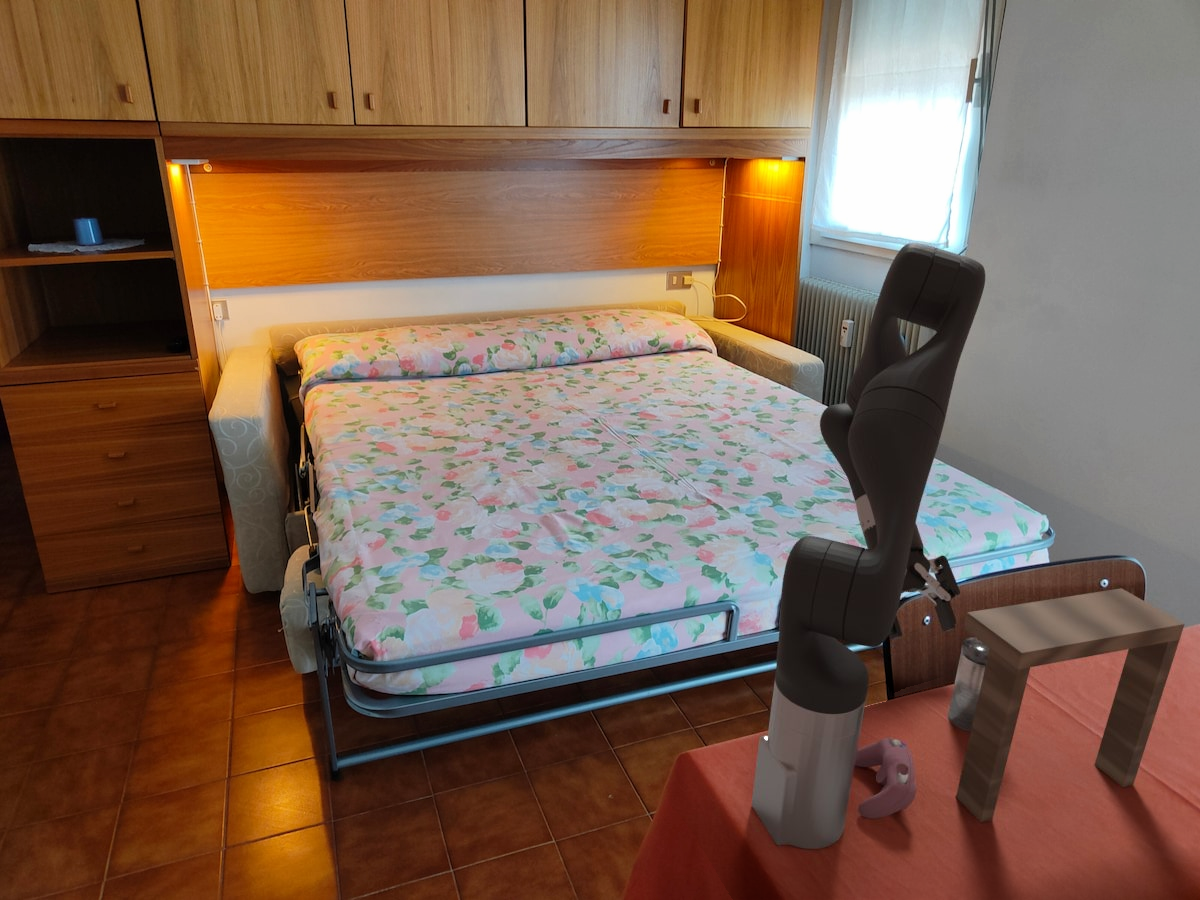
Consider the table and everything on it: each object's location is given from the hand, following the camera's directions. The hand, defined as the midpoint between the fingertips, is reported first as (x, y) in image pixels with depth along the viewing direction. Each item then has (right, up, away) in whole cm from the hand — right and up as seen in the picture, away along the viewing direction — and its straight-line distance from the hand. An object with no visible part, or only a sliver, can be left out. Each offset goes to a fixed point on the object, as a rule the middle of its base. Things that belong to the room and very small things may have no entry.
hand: (923, 633), depth 115 cm
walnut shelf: (+6, -13, -17) cm, 23 cm away
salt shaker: (+3, -10, -7) cm, 12 cm away
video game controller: (-13, -14, -20) cm, 27 cm away
